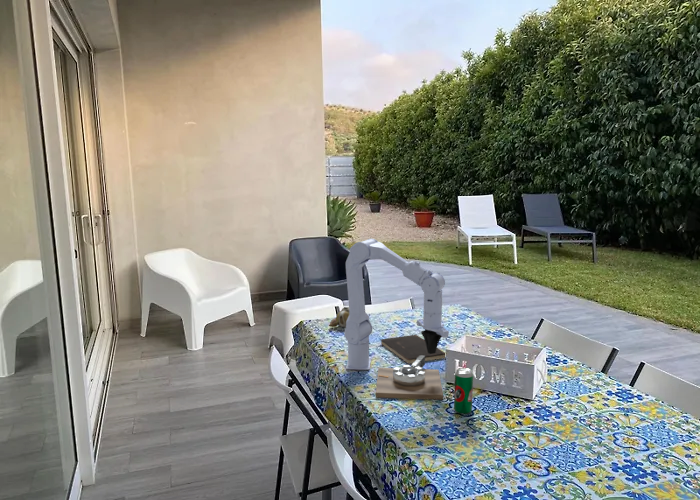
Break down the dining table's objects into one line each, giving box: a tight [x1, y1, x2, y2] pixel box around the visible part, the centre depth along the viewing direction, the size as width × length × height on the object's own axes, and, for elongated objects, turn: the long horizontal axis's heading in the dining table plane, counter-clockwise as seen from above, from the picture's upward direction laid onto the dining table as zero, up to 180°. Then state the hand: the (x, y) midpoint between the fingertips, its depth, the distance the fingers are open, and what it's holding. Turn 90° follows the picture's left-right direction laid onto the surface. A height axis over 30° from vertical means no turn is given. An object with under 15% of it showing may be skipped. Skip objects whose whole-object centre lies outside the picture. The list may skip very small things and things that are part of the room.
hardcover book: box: [379, 334, 446, 365], centre depth 209 cm, size 16×23×2 cm
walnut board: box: [375, 367, 444, 401], centre depth 177 cm, size 20×20×2 cm
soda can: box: [453, 367, 474, 415], centre depth 158 cm, size 5×5×12 cm
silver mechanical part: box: [393, 355, 426, 386], centre depth 181 cm, size 19×10×4 cm, turn 155°
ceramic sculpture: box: [328, 306, 350, 329], centre depth 238 cm, size 11×9×15 cm
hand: (431, 352), depth 180 cm, fingers closed
